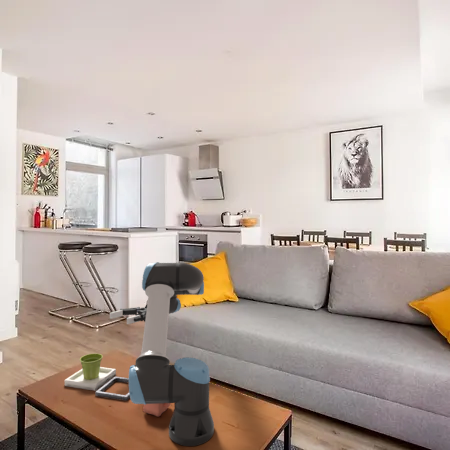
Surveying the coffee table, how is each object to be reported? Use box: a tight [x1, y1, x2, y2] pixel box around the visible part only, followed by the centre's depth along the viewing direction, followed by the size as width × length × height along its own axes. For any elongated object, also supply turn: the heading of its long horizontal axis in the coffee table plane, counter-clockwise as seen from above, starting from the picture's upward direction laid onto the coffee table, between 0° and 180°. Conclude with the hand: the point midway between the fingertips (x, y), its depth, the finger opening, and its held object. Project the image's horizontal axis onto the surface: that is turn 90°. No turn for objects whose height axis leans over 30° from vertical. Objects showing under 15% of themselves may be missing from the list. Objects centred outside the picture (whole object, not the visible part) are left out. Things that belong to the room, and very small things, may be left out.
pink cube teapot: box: [142, 403, 172, 417], centre depth 122 cm, size 8×12×8 cm, turn 66°
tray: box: [64, 366, 117, 392], centre depth 145 cm, size 15×15×2 cm
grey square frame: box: [94, 375, 130, 402], centre depth 137 cm, size 14×14×2 cm
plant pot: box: [79, 353, 104, 380], centre depth 146 cm, size 9×9×9 cm
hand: (118, 318), depth 151 cm, fingers open, 13 cm apart
